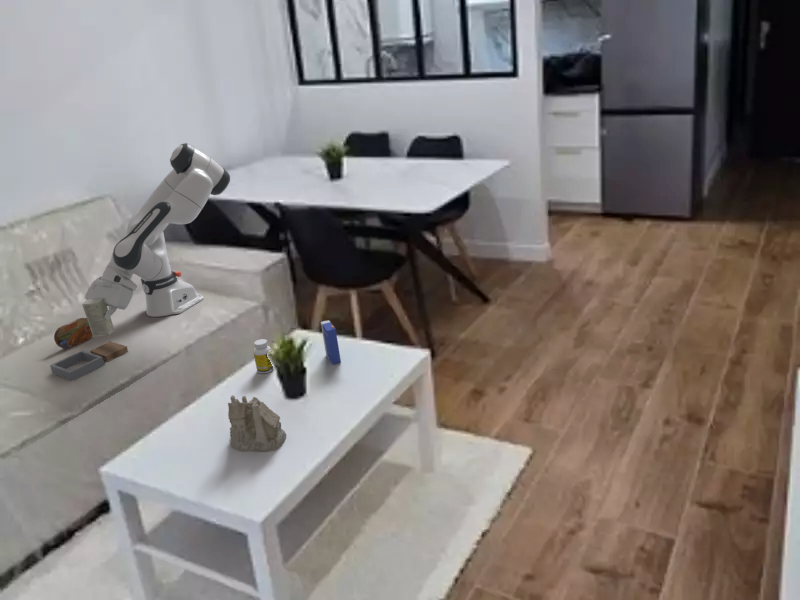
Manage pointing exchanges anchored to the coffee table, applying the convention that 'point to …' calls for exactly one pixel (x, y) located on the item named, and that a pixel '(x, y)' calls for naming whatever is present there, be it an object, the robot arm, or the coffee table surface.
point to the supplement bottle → (262, 356)
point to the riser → (110, 350)
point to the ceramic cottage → (254, 426)
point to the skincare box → (97, 317)
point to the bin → (71, 375)
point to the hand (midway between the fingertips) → (98, 316)
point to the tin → (73, 333)
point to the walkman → (330, 342)
